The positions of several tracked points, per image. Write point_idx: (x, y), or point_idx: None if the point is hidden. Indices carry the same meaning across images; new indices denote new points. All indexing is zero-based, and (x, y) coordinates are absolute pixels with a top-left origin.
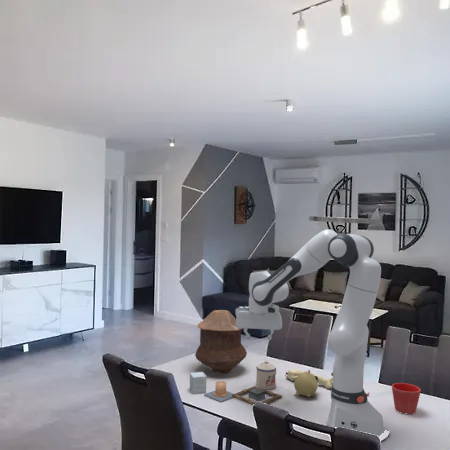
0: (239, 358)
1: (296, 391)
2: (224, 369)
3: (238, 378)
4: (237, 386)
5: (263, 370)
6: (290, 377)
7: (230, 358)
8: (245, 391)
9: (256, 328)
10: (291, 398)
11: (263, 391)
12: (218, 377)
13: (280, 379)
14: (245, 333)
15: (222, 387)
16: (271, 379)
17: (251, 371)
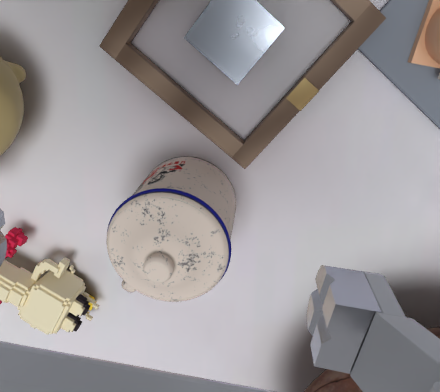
0: (330, 378)
1: (16, 71)
2: None
3: None
4: (334, 187)
5: (184, 195)
6: (65, 264)
7: None
8: (300, 81)
9: (143, 370)
10: (56, 49)
11: (195, 27)
12: (423, 296)
13: None
14: (432, 335)
15: None
16: (147, 180)
17: (253, 367)
